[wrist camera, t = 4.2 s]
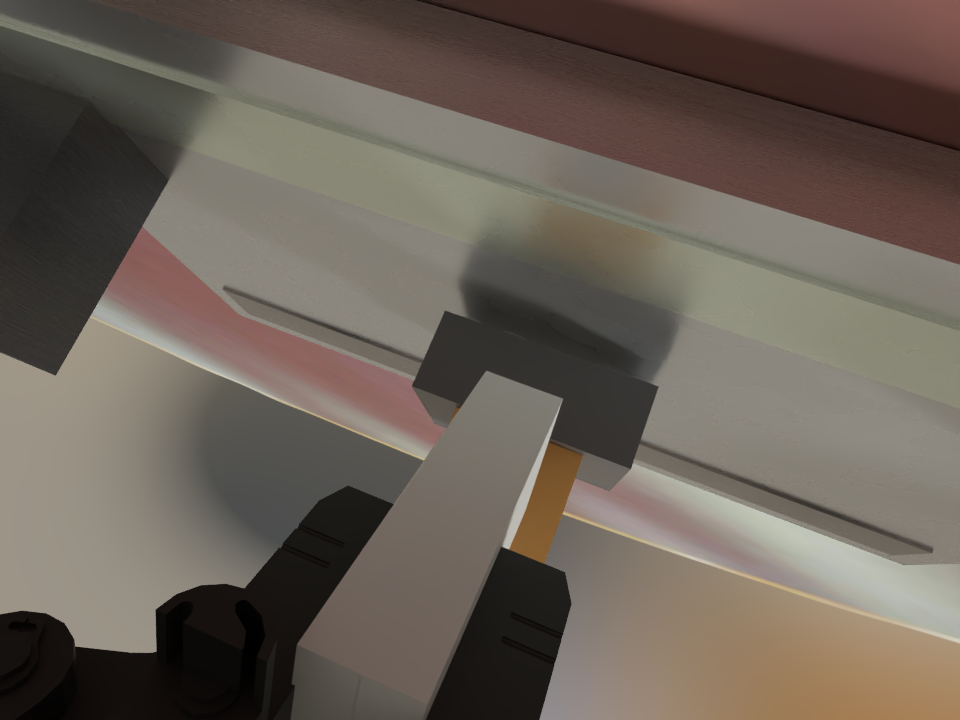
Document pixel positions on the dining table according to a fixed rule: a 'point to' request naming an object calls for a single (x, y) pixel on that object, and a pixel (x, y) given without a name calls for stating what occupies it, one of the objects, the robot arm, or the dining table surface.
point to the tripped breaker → (579, 424)
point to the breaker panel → (510, 228)
